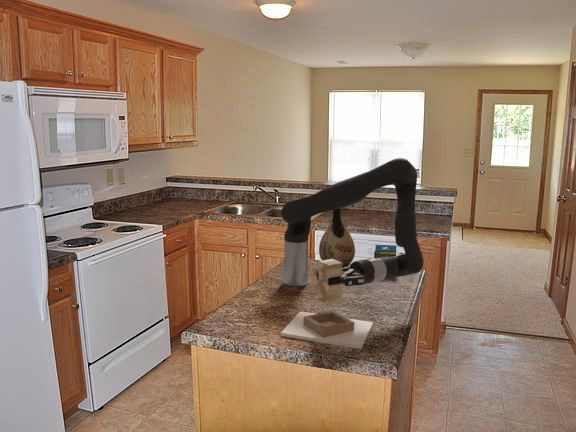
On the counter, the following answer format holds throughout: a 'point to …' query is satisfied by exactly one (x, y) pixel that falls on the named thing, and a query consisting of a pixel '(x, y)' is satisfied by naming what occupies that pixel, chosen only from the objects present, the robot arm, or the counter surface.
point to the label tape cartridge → (385, 251)
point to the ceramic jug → (337, 242)
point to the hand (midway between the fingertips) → (323, 279)
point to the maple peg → (327, 271)
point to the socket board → (336, 339)
